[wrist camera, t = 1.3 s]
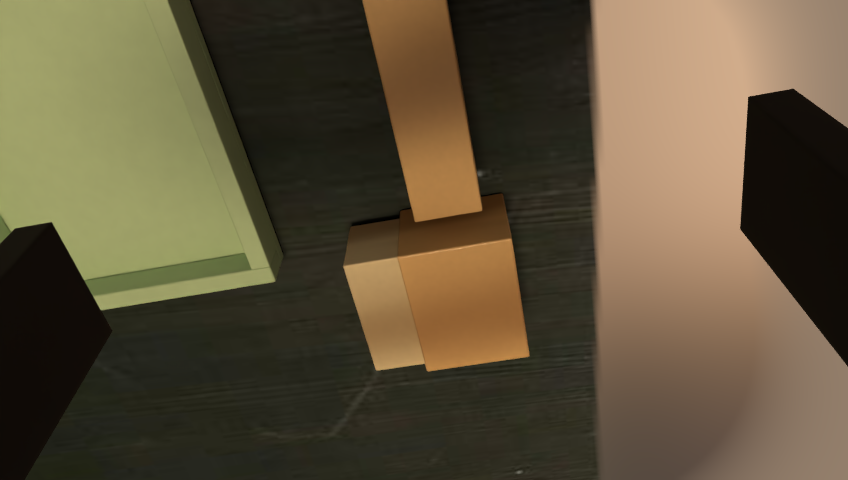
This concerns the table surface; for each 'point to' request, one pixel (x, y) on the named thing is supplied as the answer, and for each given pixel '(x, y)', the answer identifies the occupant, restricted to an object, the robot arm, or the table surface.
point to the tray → (128, 150)
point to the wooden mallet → (433, 214)
